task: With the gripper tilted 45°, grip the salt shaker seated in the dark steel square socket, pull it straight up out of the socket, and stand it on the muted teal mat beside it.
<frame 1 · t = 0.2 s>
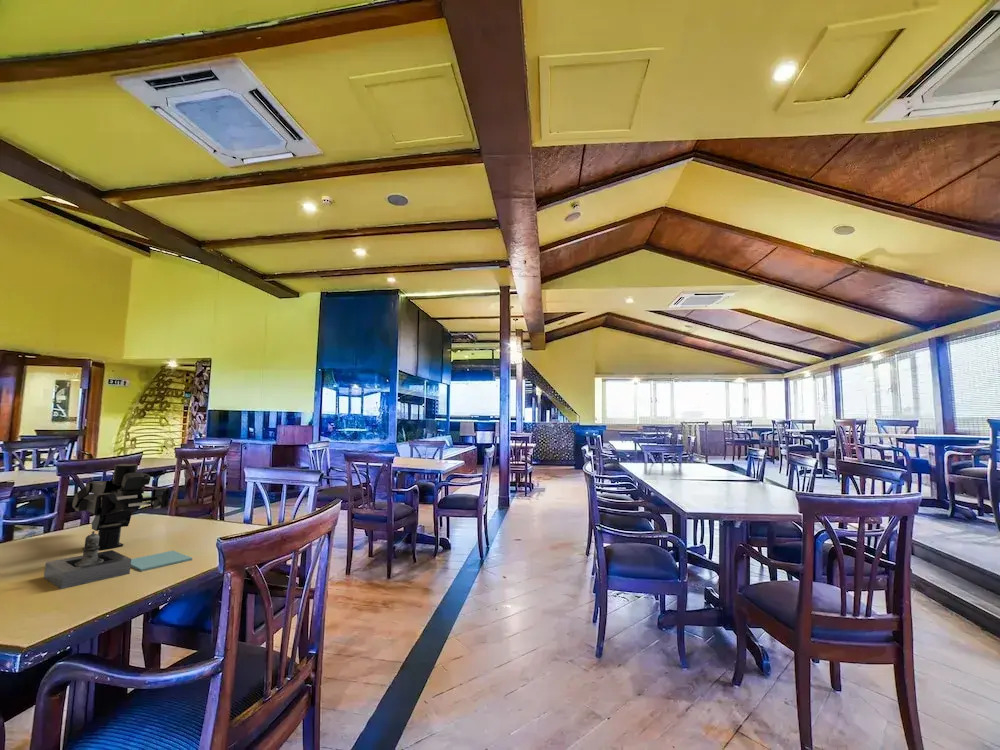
hand: (143, 505, 133), 17 cm above the table, tool horizontal, fingers open, 9 cm apart
square socket: (87, 575, 119), on the table
teal mat: (158, 561, 132), on the table
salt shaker: (87, 576, 119), resting in square socket
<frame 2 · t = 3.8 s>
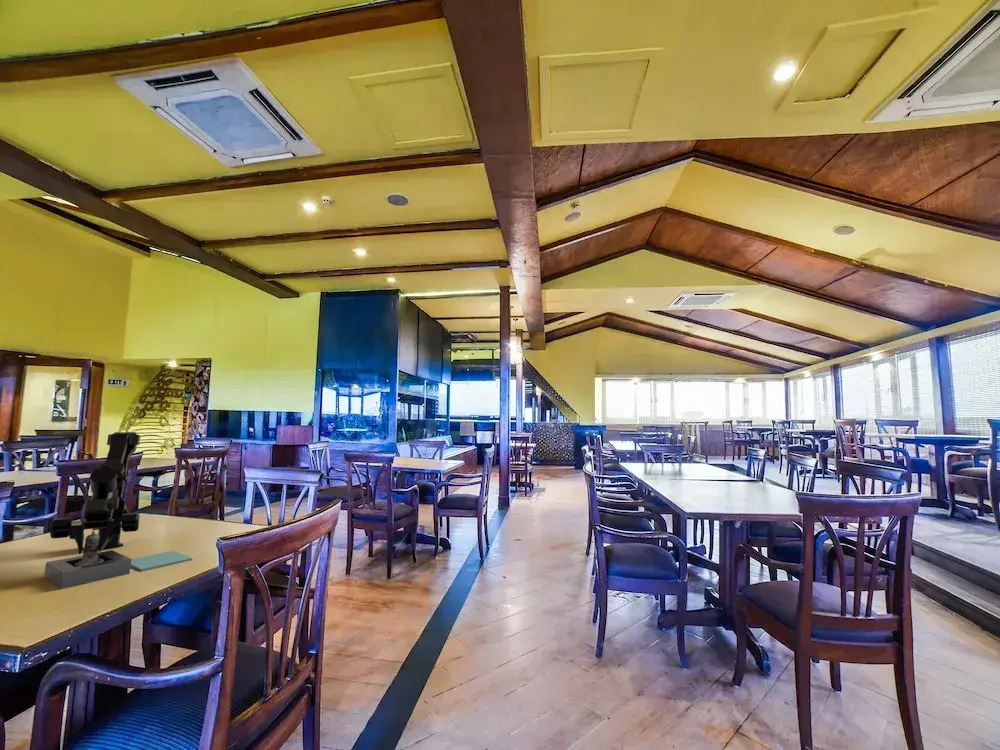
hand: (89, 552, 118), 7 cm above the table, tool tilted 45°, fingers closed on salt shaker, 4 cm apart
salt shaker: (87, 576, 119), resting in square socket, touching gripper
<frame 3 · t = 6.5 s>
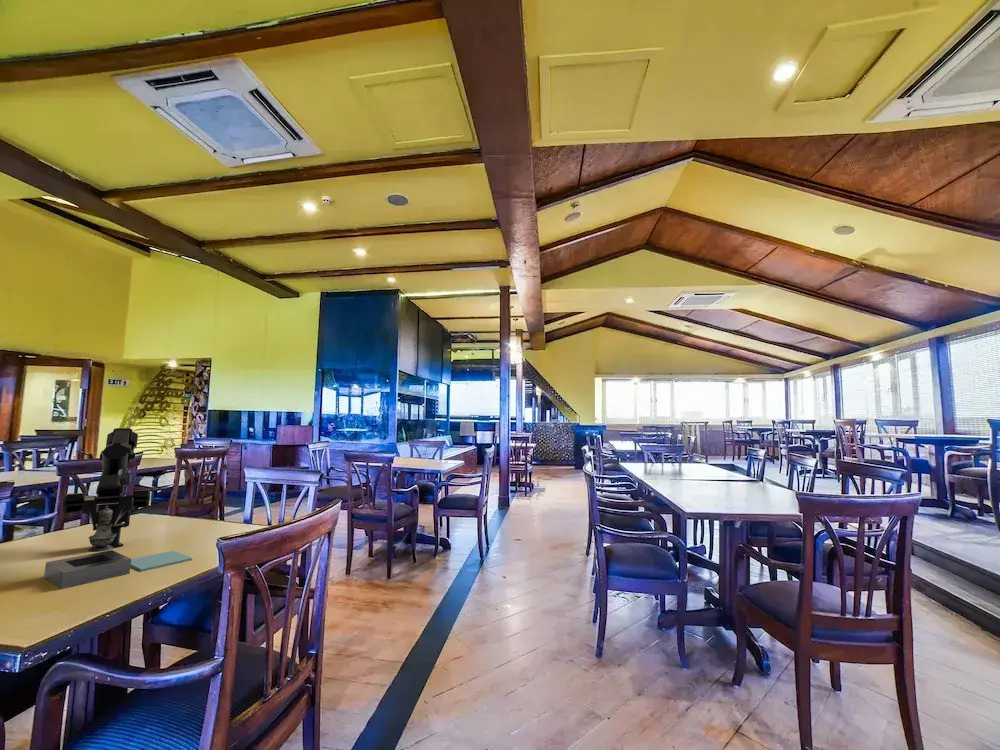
hand: (103, 526, 121), 13 cm above the table, tool tilted 45°, fingers closed on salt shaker, 4 cm apart
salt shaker: (100, 549, 121), point 6 cm above the table, touching gripper
when the fingers open (8 cm above the table, at t = 9.3 s): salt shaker drops 1 cm, resting on teal mat.
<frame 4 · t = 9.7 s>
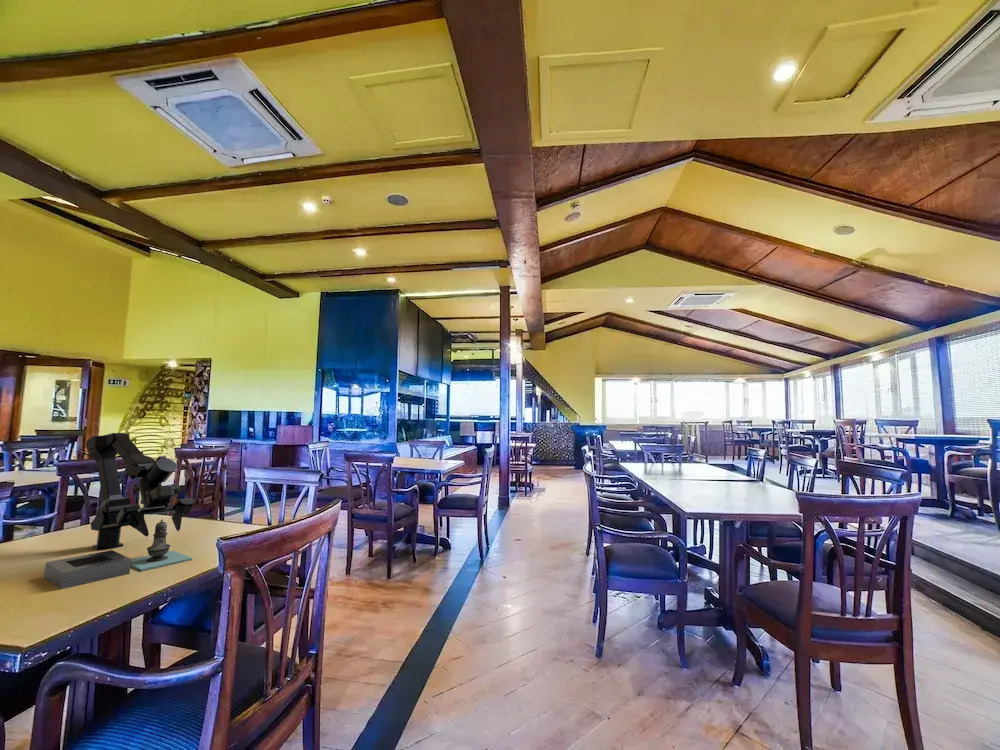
hand: (163, 532, 132), 9 cm above the table, tool tilted 45°, fingers open, 8 cm apart
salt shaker: (157, 559, 132), resting on teal mat
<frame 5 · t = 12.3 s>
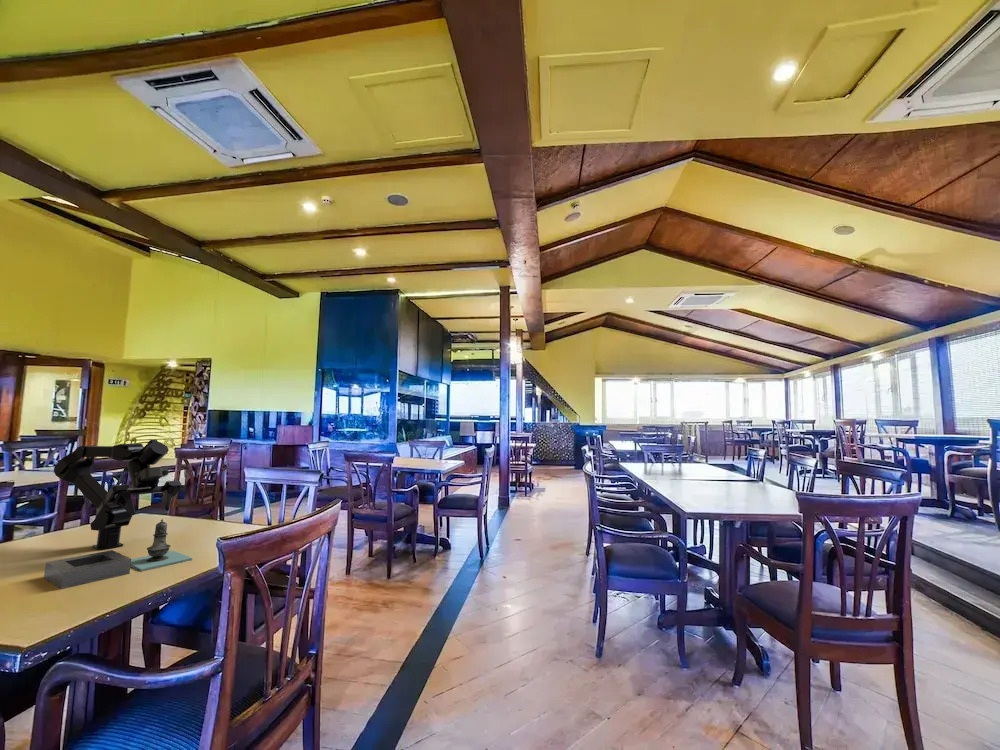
hand: (151, 512, 138), 14 cm above the table, tool tilted 45°, fingers open, 9 cm apart
nothing on the table moved.
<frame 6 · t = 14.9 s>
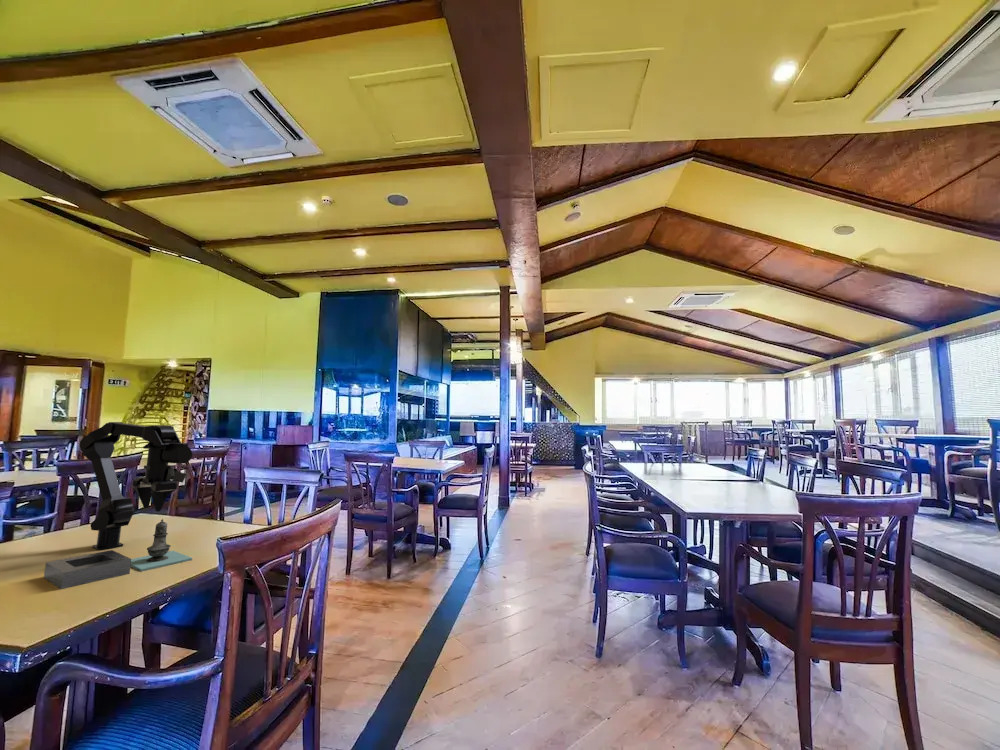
hand: (152, 509, 144), 13 cm above the table, tool pointing down, fingers open, 9 cm apart
nothing on the table moved.
at the end: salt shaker inside the target area on the teal mat (0.2 cm from its centre), point 0.4 cm above the teal mat's base; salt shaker tilted 0°; the gripper is holding nothing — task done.
